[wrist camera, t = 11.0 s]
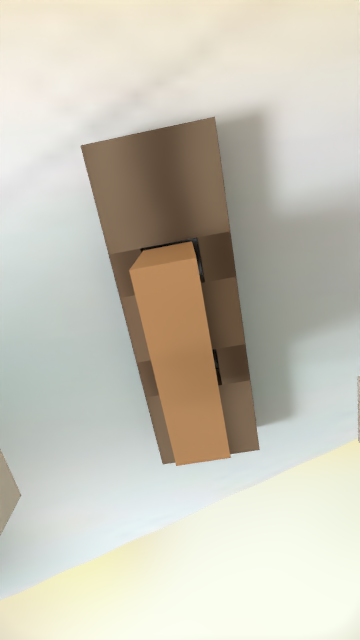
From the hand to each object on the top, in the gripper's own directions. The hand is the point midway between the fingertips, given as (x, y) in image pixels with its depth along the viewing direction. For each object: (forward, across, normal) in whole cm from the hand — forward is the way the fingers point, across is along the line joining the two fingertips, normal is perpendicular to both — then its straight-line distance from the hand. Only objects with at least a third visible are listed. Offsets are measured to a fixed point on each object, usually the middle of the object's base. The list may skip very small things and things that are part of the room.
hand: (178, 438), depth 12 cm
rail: (+15, -1, 0) cm, 15 cm away
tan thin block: (+15, 0, 0) cm, 15 cm away
